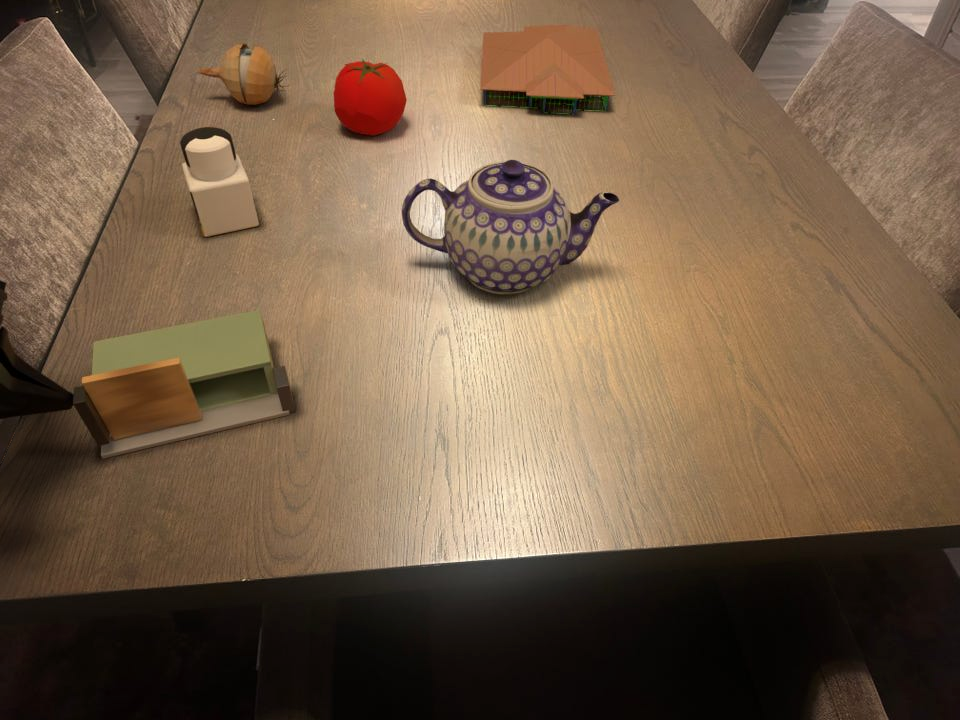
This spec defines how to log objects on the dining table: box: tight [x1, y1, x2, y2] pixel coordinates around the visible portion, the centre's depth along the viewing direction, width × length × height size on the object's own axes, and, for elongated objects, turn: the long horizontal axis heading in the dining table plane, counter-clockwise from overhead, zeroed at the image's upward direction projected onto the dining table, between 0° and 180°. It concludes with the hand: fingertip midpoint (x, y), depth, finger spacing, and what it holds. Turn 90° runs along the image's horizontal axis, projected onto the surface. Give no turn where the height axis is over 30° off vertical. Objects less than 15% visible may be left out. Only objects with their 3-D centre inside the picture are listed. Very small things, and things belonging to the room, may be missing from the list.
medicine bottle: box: [179, 126, 260, 238], centre depth 86 cm, size 7×7×12 cm
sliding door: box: [72, 358, 202, 447], centre depth 61 cm, size 9×2×8 cm, turn 110°
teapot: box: [401, 159, 620, 295], centre depth 79 cm, size 25×15×15 cm, turn 86°
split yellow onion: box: [197, 41, 290, 106], centre depth 111 cm, size 9×9×15 cm
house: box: [480, 24, 616, 115], centre depth 123 cm, size 23×33×8 cm
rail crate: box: [91, 309, 296, 459], centre depth 67 cm, size 18×11×5 cm, turn 110°
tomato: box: [333, 58, 408, 137], centre depth 106 cm, size 12×12×10 cm
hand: (73, 403), depth 58 cm, fingers closed, pressing on sliding door
